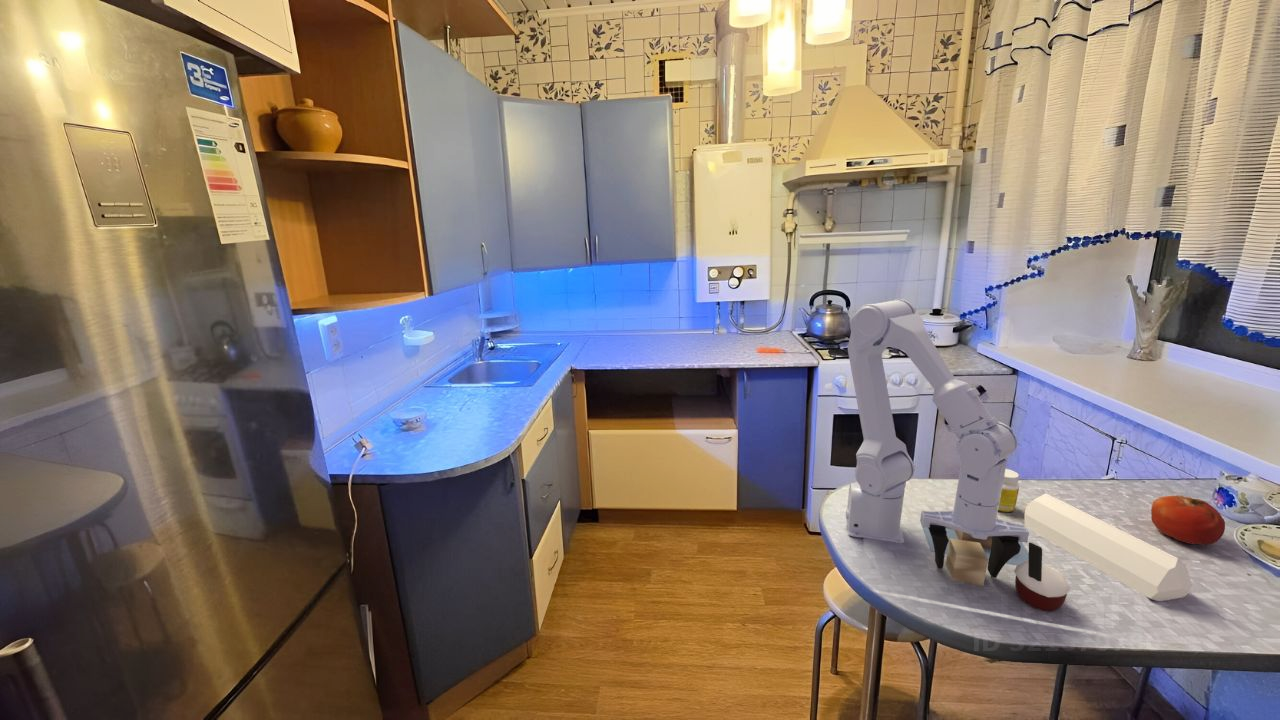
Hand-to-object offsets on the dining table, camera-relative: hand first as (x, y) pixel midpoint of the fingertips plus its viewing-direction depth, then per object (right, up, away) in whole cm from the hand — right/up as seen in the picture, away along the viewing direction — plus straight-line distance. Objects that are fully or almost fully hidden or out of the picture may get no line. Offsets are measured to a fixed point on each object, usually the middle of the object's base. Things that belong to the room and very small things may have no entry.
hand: (964, 569), depth 82 cm
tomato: (+45, +2, +9) cm, 46 cm away
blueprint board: (+7, +1, +8) cm, 11 cm away
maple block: (0, -1, 0) cm, 2 cm away
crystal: (+26, 0, +4) cm, 26 cm away
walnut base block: (+9, +2, +10) cm, 13 cm away
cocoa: (+7, -3, -5) cm, 10 cm away
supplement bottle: (+19, +4, +18) cm, 27 cm away
